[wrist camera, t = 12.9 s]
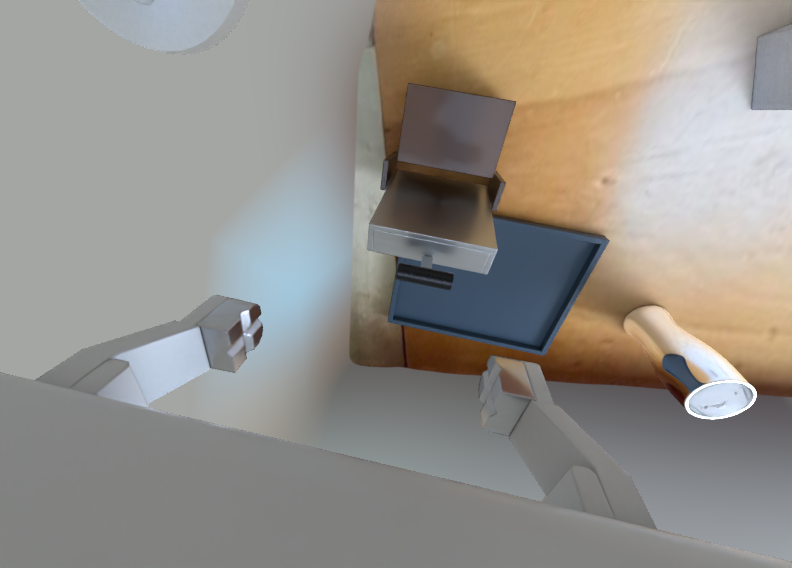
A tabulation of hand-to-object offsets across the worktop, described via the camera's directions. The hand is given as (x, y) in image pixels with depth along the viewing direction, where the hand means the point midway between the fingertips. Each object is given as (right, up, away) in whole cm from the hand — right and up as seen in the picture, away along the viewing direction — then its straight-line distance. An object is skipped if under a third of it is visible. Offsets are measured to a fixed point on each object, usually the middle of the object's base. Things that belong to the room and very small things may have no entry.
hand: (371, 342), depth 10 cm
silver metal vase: (+40, -4, +36) cm, 54 cm away
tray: (+15, +2, +37) cm, 40 cm away
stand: (+8, +20, +28) cm, 35 cm away
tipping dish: (+5, +10, +21) cm, 24 cm away
